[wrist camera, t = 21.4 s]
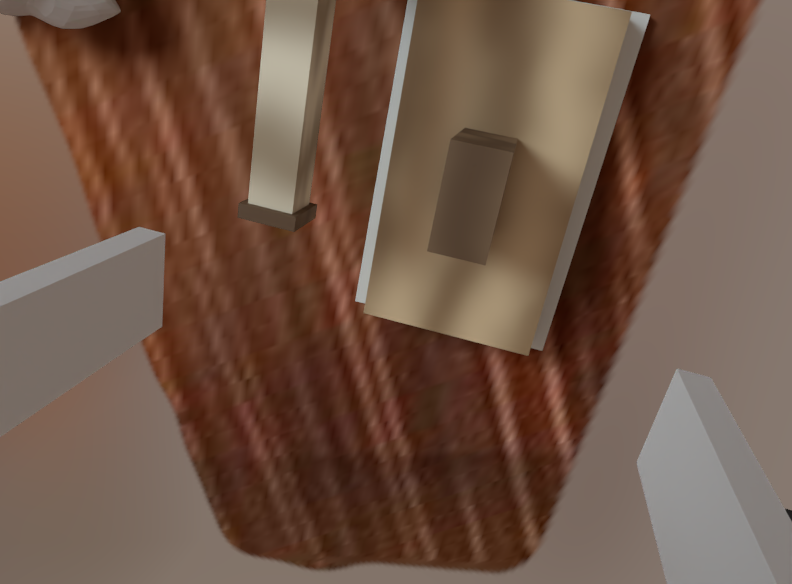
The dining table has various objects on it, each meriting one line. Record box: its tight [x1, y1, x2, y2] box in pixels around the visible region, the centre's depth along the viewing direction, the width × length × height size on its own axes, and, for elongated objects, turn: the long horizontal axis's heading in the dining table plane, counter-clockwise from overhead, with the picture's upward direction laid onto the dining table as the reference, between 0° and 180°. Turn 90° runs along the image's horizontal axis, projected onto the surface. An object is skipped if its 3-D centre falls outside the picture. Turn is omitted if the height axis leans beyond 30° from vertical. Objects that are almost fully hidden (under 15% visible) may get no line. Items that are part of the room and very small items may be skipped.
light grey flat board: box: [355, 0, 650, 351], centre depth 39 cm, size 22×14×1 cm, turn 169°
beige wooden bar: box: [238, 0, 336, 232], centre depth 28 cm, size 22×3×3 cm, turn 169°
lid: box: [364, 0, 632, 356], centre depth 34 cm, size 12×21×9 cm, turn 170°
